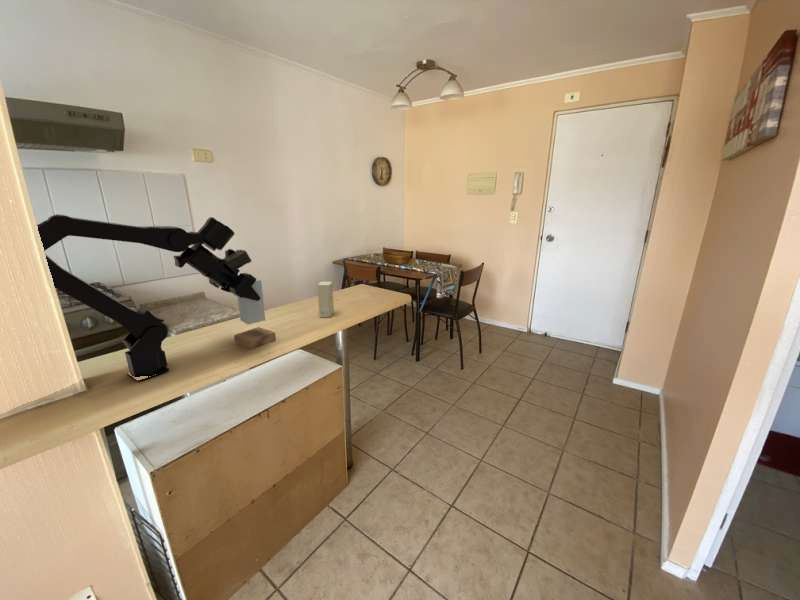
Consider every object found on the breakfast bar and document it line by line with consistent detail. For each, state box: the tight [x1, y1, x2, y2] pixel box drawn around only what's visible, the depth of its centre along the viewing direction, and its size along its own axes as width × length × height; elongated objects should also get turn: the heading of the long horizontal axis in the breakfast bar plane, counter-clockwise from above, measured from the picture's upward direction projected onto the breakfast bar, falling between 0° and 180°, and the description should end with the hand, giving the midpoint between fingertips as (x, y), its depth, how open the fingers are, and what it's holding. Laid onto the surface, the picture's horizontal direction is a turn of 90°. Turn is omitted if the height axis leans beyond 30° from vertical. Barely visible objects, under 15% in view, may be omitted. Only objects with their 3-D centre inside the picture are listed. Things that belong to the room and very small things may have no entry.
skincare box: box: [316, 281, 335, 318], centre depth 122 cm, size 6×4×12 cm
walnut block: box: [233, 326, 277, 350], centre depth 98 cm, size 8×8×3 cm
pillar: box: [237, 278, 266, 325], centre depth 95 cm, size 5×5×12 cm
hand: (255, 297), depth 96 cm, fingers closed on pillar, 5 cm apart
